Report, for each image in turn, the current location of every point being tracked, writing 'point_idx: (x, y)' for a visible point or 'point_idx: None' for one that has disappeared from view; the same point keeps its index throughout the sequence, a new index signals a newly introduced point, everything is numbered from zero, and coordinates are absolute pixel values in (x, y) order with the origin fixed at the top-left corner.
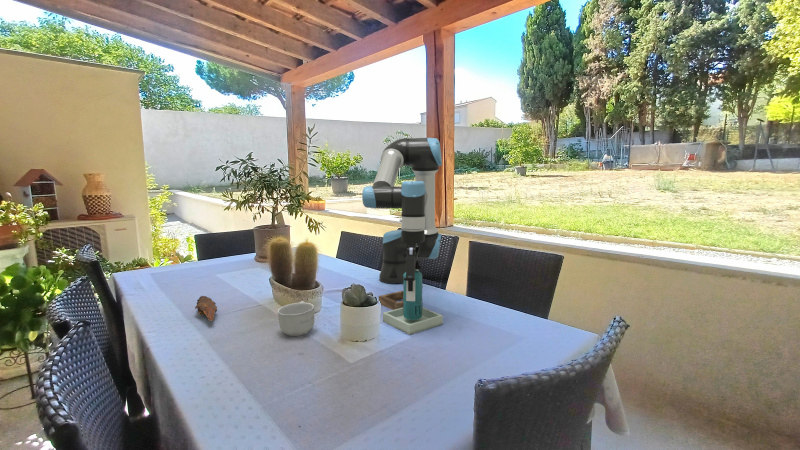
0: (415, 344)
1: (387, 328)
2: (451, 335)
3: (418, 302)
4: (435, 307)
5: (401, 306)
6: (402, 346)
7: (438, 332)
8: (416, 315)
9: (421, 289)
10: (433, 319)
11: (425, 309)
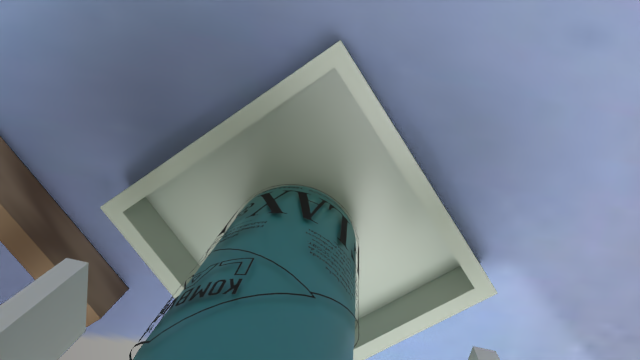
0: (608, 250)
1: (371, 357)
2: (532, 18)
3: (344, 267)
4: (18, 34)
5: (91, 277)
6: (614, 313)
7: (469, 95)
8: (353, 237)
9: (302, 299)
10: (390, 121)
11: (207, 150)
